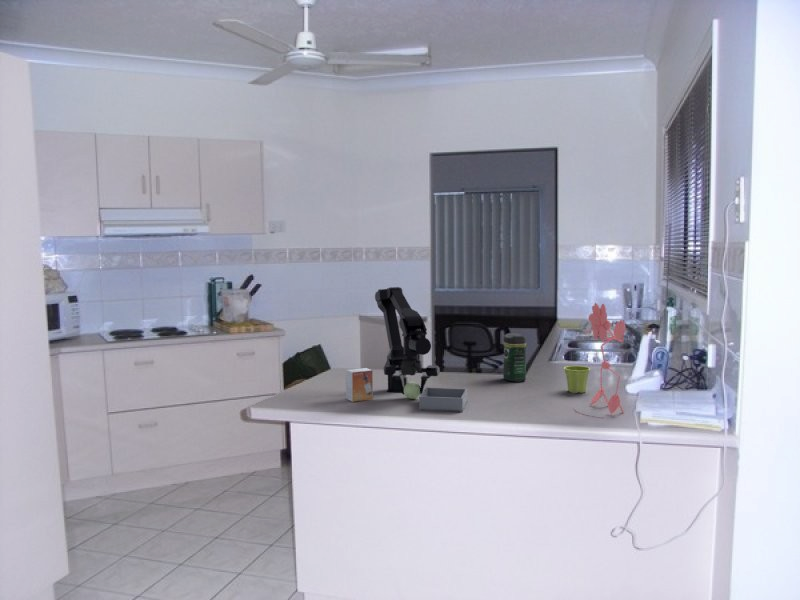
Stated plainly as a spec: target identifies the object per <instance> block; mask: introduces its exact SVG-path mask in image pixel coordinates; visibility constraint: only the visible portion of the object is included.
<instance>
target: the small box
mask: <svg viewBox="0 0 800 600" xmlns="http://www.w3.org/2000/svg"><path fill="white" fill-rule="evenodd" d="M373 377H374V375H373V369H369V368H367V367H364V368H355V369H345V386H346V387H345V398H346V400H348V401H350V402H352V403H353V402H361V401H372V400H373V399H374V398H373V397H374V396H373V394H374V393H373V392H374V390H373V388H374V387H373V386H374V385H373V383H374V382H373Z"/></svg>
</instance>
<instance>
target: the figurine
mask: <svg viewBox="0 0 800 600" xmlns="http://www.w3.org/2000/svg"><path fill="white" fill-rule="evenodd" d="M591 311H592V313H590V314H589V315H588V321H589V322H590V323H591V324H590V326H591V327H590V328H589V329H588V330H587V331H586V332H584V335H587V334H588V333H589V332H591V331H592V335H593V339H594V340H597V339H598V337H599V339H600V341H601V342H603V343H601V345H600V350H601V353H602V358H603V362H602V363H600V365H601V368H600V389H599V390H598V391H597V392H596V393H595V394H594V396H593V397H592V400H591V401H590V404H589V405H590V406H591V405H593V404H596V403H597V402H599V401H600V402H601V401H604V399H605V403H607V407H608V411H609V413H610V415H612V414H613V413H615V412H616V410H617V409H620V411H621V412H622V414H623V413H625V411H624V409H623V408H622V405H621V397H620V396H619V395H618V394H617V393H618V388H619V384H620V378H621V375H619V374H618V373H617V372H615V371H614V370H612V369H611V364H610V362H609V361H607V360H606V359H605V354H604V347H603V346H605V345H606V344H608V343H610V342H611V341H612V340H614V341H615V340H616V341H618V342H620V343H622V344H624V341H625V339H624V334H625V332H626V330H627V329H626V327H627V326H626V324H625V322H624V320H622V319H619V321H618V322H617V323H616V324H615V325H614V328H613V333H612V332H611V330H610V329H611V326H612V324H611V322H610V320H608V319H607V318H608V313H607V308H606V305H605V303H601V305H600V306H599V304H598V303H597V302H594V304H593V305H592V306H591ZM608 332H609V334H610V335H611V337H609V336H608ZM605 340H606V341H605ZM602 370H609V371H610V372H612V373H613V374H615V375H616V376H617V377H618V379H617V384H616V390H615V393H614V394H613V395H611V397H610V398H609V400H608V398H607V397H606V394H605V388H604V387H603V379H602V378H603V374H602V373H603V372H602ZM602 396H603V398H604V399H603V400H602V399H601V400H600V398H601V397H602ZM573 410H575V408H574V407H573ZM575 413H577V414H580V412H579V411H576V410H575ZM582 415H584V416H587V417H591V416H592V417H591V418H595V416H594V415H588V414H585V413H584V414H583V413H582ZM597 418H599V419H603V417H599V416H597Z"/></svg>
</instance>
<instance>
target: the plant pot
mask: <svg viewBox="0 0 800 600" xmlns="http://www.w3.org/2000/svg"><path fill="white" fill-rule="evenodd" d="M563 370H564V373H565V375H566V376H565V377H566V382H567V384H566V385H567V391H569V392H570V393H574V394H577V393H578V394H579V393H581V394H583V393H586V391H587V384H588V377H589V374H590V370H591V368H590V367H588V366H582V365H570V366H569V365H567V366H564V367H563Z"/></svg>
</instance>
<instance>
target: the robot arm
mask: <svg viewBox="0 0 800 600" xmlns="http://www.w3.org/2000/svg"><path fill="white" fill-rule="evenodd" d="M374 300H375V302H376V304H377V307H378V309H379V310H380V311H381V312H382V314H383V319H384V326H385V330H386V335H387V342H388V347H389V350H388V353H387V355H386V362H385V364H384V366H383V373H384V376H387V389H386V392H393V393H402V395H405V394H404V387H405V385H406V384H407V383H408V377H407V376H415V375H416V374H422V375H421V376H420V380H421V381H420V395H421V394H422V392H423V391H424V390H425V388H426V387H425V386H426V383H427V381H428V379H430V378H431V377H438V376H439V375H440V367H439V365H431V364H430V365H427V366H426V367H423V366H422V365H423V364H422V360H421V355H423V356H424V355H427V354H428V353H430V351H431V350H432V349H431V348H432V343H431V341H430V340H429V339H428V338H426V335H427V334H428V331H427V327H426V324H425V322H424V319H423V318H422V316H421V314H420V313H419V312H418V311H417V310H415V309H412V307H411V306H410V303H409V301H408V300H407V299H406V297H405V295H404V293H403V289H402V287H400V286H394V287H393V286H392V287H391V286H390V287H388V288H382V289H381V288H380V289H378V290H377V291H376V292H375V294H374ZM397 314H398V316H399V321H398V317H397ZM400 330H401V331H402V334H401V333H400ZM401 337H403V341H402V338H401ZM420 395H419V396H420Z"/></svg>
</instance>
